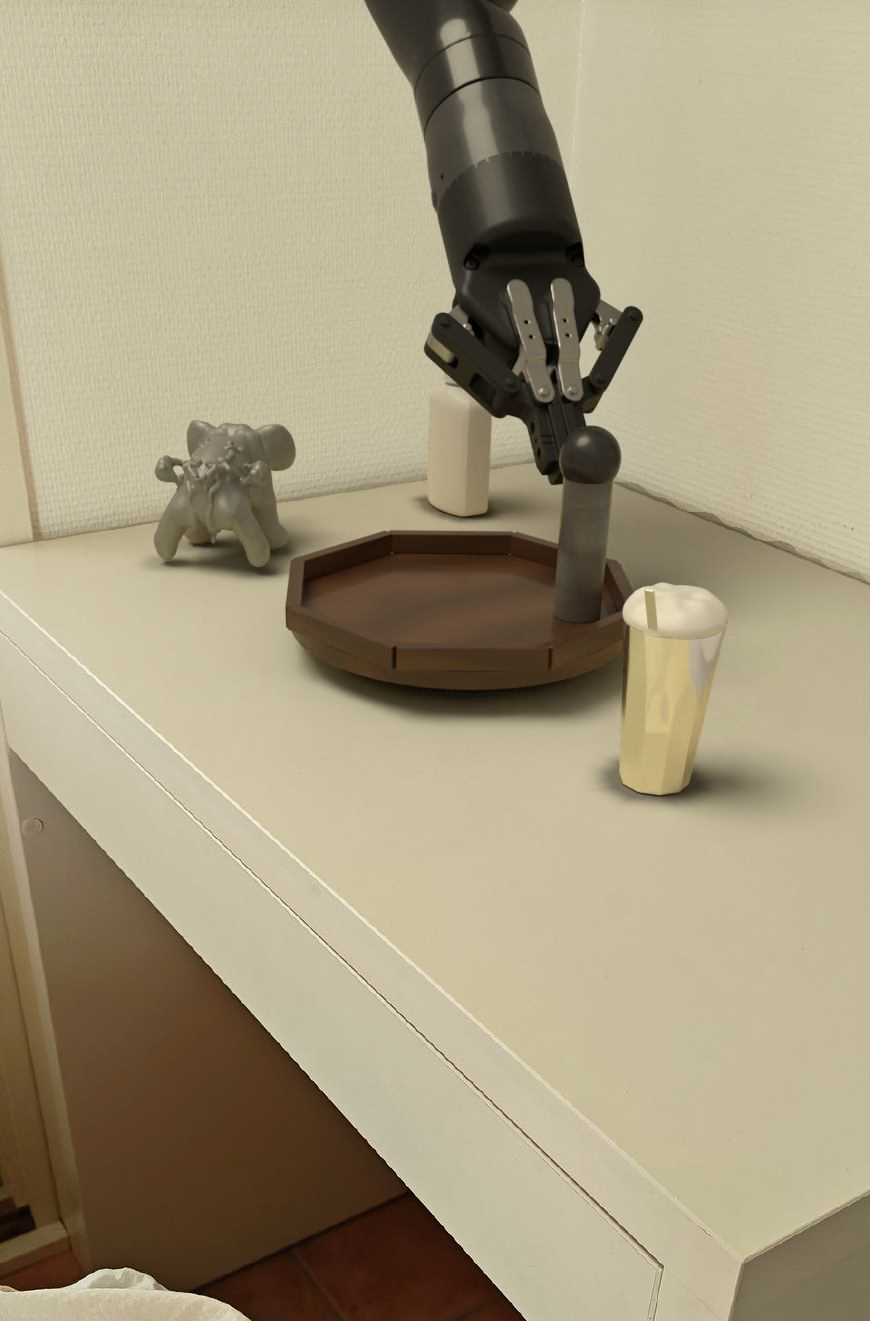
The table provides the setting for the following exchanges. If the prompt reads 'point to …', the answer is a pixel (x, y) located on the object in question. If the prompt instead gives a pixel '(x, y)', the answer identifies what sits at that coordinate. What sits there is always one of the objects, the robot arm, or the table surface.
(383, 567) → the tray
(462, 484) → the eye dropper bottle
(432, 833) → the table surface
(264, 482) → the gray elephant figurine
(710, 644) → the milkshake
